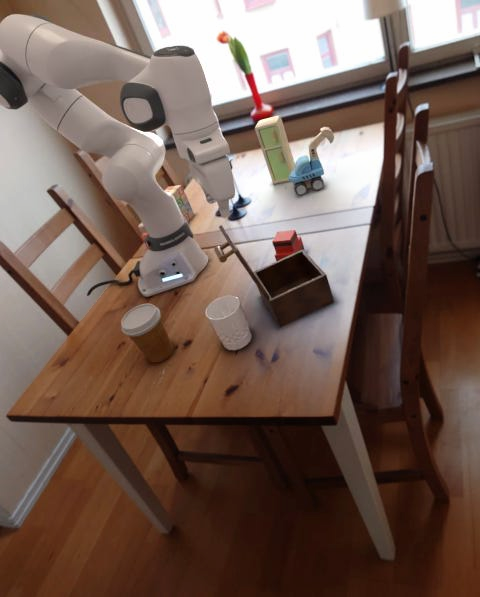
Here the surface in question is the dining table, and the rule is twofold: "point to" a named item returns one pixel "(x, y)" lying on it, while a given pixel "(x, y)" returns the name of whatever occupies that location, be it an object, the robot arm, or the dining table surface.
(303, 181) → the toy excavator
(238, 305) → the white cup
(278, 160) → the toy refrigerator
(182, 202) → the printed cardboard box
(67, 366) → the dining table surface
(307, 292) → the toy chest
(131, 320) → the disposable coffee cup
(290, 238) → the red stepped block
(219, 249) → the chest lid
